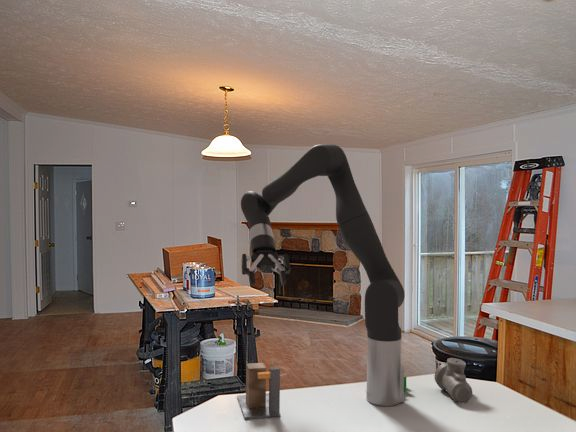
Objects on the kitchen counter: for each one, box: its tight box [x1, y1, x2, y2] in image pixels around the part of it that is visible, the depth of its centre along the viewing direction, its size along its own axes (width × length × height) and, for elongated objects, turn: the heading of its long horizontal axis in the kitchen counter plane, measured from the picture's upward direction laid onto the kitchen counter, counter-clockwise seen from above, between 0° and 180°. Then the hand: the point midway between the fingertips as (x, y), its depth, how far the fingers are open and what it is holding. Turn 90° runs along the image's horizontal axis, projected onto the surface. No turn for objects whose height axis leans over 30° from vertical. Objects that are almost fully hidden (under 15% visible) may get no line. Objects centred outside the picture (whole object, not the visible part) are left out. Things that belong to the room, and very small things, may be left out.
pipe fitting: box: [433, 357, 473, 403], centre depth 140 cm, size 12×8×10 cm
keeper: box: [236, 366, 281, 421], centre depth 131 cm, size 9×15×12 cm, turn 13°
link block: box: [245, 362, 267, 407], centre depth 132 cm, size 4×4×10 cm
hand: (268, 284), depth 142 cm, fingers open, 8 cm apart
